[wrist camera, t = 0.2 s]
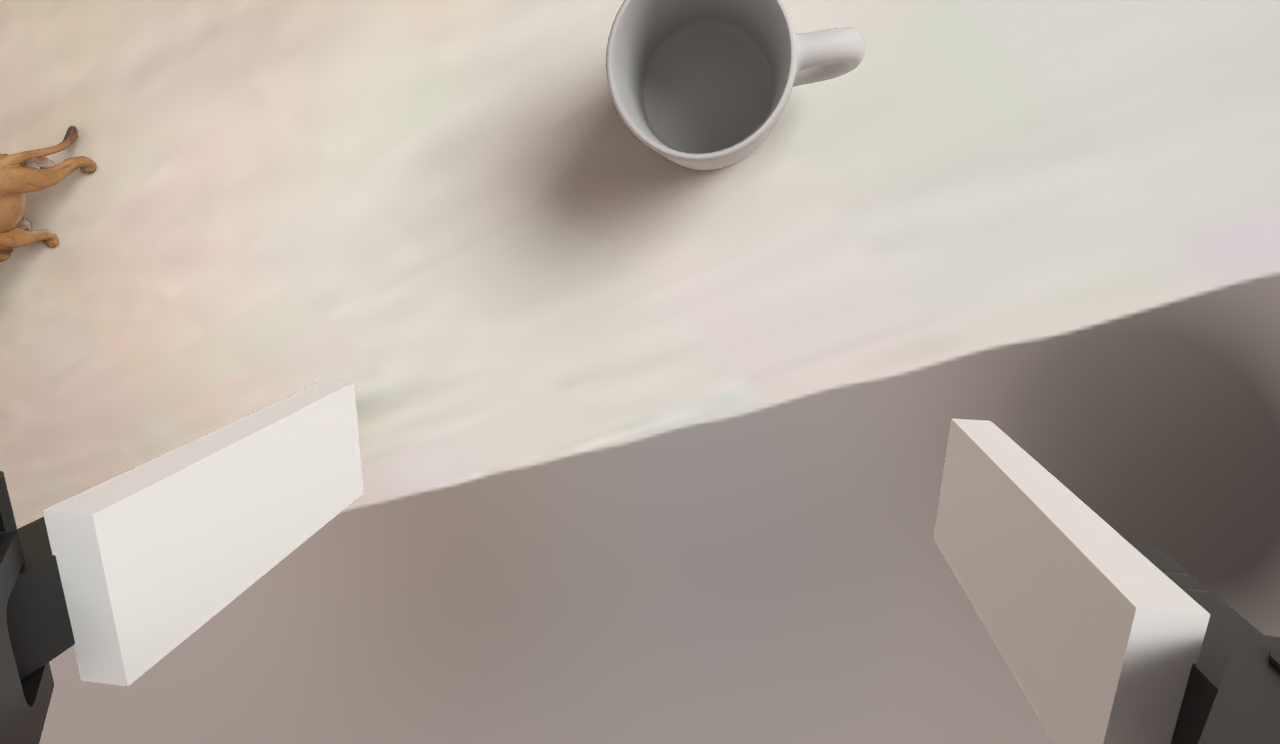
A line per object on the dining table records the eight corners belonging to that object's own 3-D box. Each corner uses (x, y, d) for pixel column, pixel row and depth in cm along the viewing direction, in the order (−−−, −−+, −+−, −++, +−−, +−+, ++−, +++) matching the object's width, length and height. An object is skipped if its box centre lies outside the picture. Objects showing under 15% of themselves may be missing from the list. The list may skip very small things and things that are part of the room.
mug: (647, 180, 42) (619, 177, 31) (626, 31, 40) (588, -27, 29) (848, 148, 40) (890, 132, 29) (836, -11, 38) (877, -90, 27)
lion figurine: (58, 292, 49) (-54, 309, 42) (6, 260, 49) (-115, 271, 42) (107, 143, 46) (-6, 134, 39) (51, 108, 45) (-73, 93, 38)
